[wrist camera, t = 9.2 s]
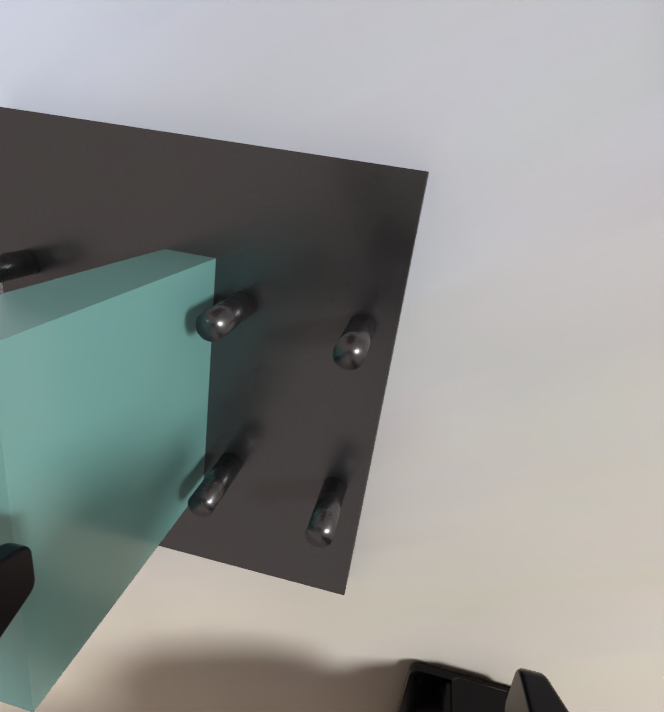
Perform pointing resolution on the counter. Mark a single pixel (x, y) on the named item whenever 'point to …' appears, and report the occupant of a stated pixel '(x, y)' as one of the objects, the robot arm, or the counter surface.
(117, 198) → the dish rack
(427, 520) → the counter surface
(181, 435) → the teal plate
